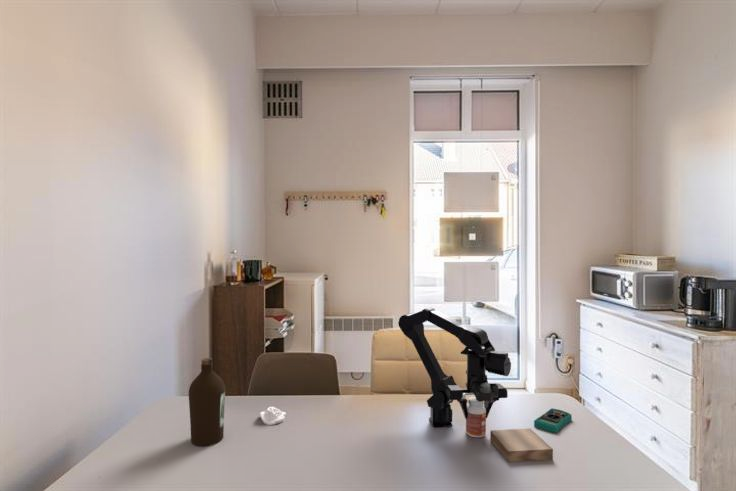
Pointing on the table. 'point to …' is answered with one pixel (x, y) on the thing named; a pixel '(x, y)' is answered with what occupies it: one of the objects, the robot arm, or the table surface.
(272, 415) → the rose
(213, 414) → the olive oil
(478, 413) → the pill bottle
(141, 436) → the table surface
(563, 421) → the digital multimeter
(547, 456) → the walnut base
